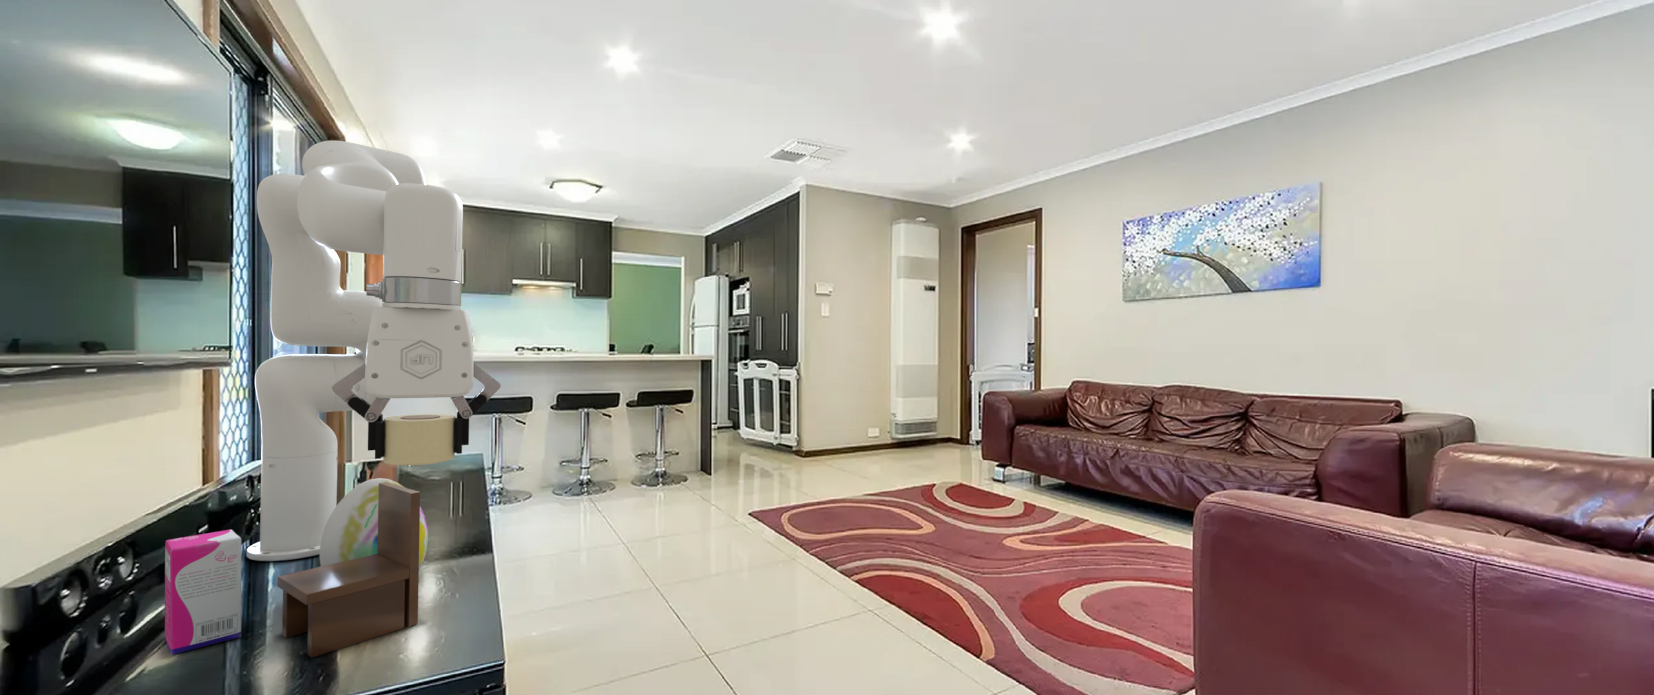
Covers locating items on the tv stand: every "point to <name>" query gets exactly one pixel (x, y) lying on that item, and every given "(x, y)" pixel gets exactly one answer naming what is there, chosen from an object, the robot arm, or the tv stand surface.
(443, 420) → the tape roll
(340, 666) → the tv stand surface
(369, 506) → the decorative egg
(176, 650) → the supplement box
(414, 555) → the wooden toy chair
